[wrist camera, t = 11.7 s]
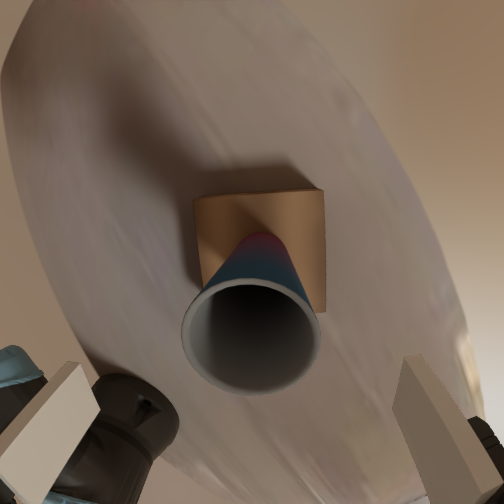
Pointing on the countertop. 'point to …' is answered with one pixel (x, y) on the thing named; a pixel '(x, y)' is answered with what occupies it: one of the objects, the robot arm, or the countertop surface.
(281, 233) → the base block
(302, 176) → the countertop surface
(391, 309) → the countertop surface
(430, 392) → the robot arm
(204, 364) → the cup
